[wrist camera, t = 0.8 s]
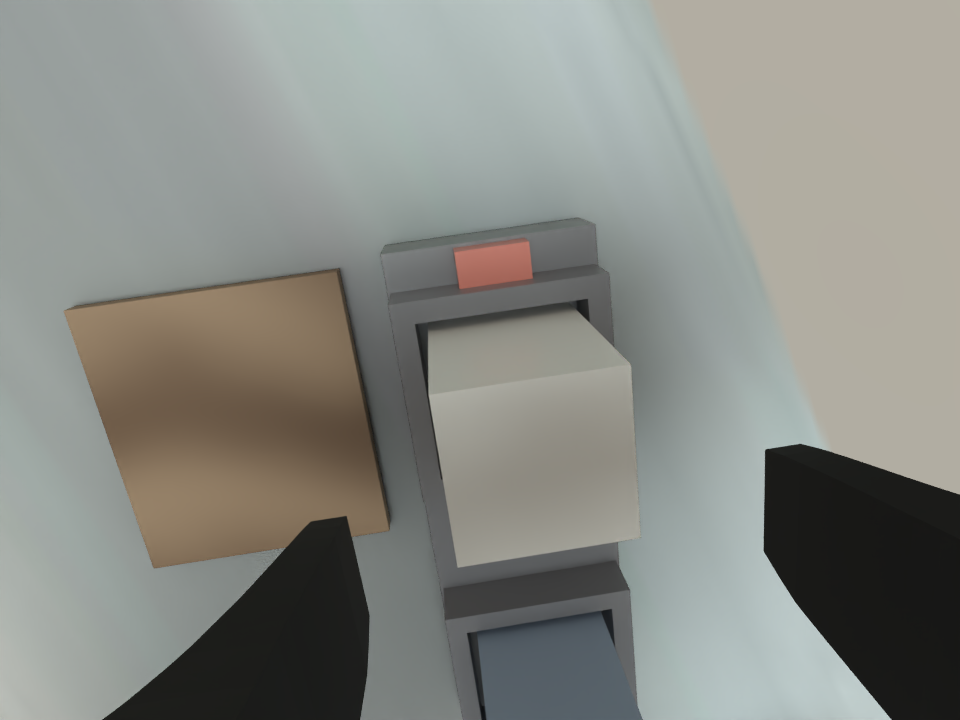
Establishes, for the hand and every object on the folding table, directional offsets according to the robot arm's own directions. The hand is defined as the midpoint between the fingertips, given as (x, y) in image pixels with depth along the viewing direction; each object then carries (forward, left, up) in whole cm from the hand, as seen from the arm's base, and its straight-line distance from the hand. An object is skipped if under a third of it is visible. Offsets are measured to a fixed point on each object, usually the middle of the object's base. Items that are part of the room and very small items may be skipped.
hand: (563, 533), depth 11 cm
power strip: (-8, 0, -10) cm, 13 cm away
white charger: (0, 0, -8) cm, 8 cm away
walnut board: (-1, +9, -10) cm, 13 cm away
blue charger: (-10, 0, -8) cm, 13 cm away
